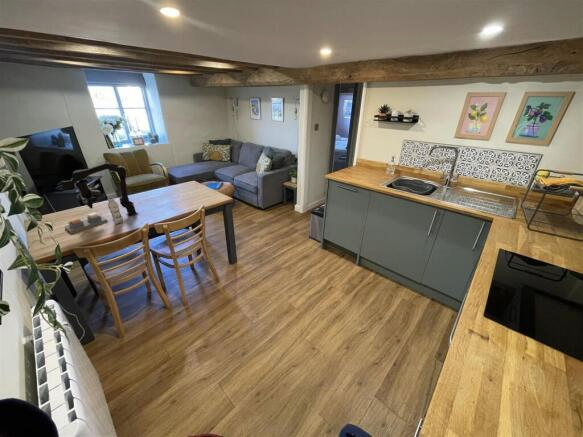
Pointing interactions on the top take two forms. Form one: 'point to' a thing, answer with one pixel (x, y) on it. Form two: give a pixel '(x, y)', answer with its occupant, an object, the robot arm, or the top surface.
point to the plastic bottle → (115, 211)
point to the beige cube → (93, 215)
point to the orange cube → (74, 220)
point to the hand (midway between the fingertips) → (91, 208)
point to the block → (85, 224)
